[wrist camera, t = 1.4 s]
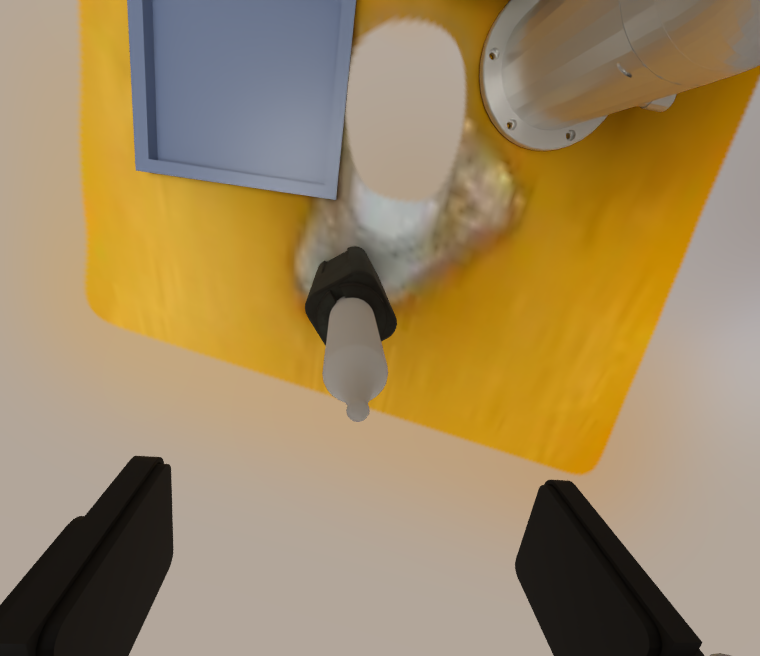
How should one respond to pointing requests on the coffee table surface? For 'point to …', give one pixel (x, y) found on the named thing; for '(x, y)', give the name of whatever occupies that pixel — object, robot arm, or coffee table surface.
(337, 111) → the slate blue tray
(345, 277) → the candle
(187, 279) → the coffee table surface
